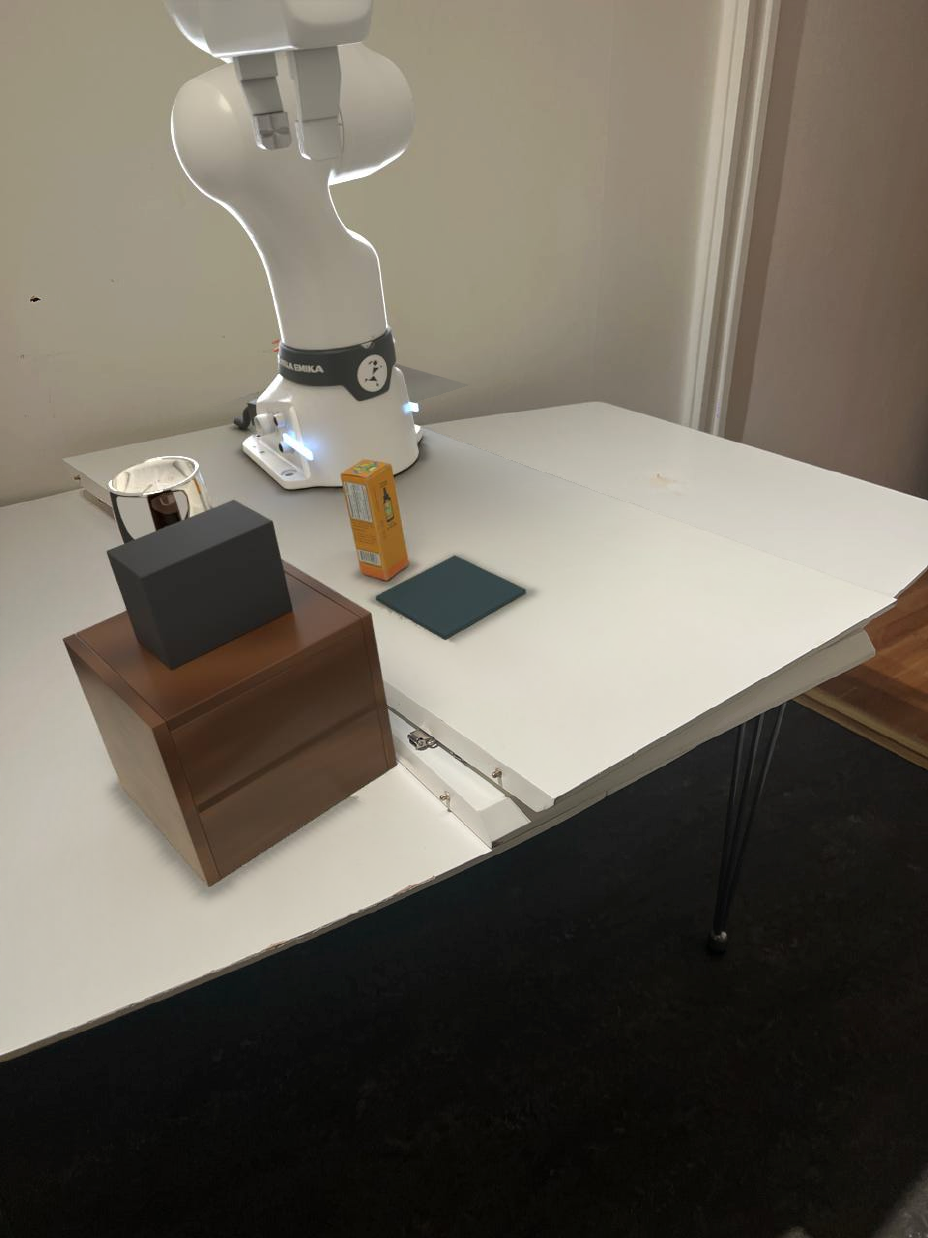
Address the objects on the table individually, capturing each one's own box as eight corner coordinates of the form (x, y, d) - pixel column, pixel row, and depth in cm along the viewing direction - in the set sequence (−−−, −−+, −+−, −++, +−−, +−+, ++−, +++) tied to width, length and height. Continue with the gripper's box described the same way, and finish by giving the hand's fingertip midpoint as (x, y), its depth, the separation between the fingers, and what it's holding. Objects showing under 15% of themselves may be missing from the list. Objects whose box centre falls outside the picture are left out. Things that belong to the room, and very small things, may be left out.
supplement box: (380, 557, 83) (364, 455, 78) (410, 565, 81) (395, 462, 76) (356, 574, 81) (338, 470, 76) (386, 583, 79) (370, 478, 74)
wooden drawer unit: (121, 786, 60) (61, 638, 54) (298, 689, 68) (264, 548, 61) (208, 887, 52) (151, 728, 46) (397, 764, 60) (372, 612, 53)
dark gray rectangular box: (136, 640, 53) (105, 550, 49) (255, 585, 57) (233, 498, 54) (171, 671, 50) (140, 577, 47) (293, 610, 54) (273, 520, 51)
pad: (376, 599, 77) (375, 595, 77) (455, 558, 82) (454, 554, 82) (445, 639, 71) (444, 635, 71) (526, 593, 76) (525, 589, 76)
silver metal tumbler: (166, 680, 70) (107, 504, 62) (154, 635, 75) (99, 469, 67) (254, 653, 72) (209, 479, 64) (236, 612, 77) (193, 447, 69)
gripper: (138, -139, 48) (203, 150, 56) (211, -249, 32) (288, 177, 40) (253, -144, 50) (301, 136, 58) (377, -251, 34) (421, 156, 42)
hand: (297, 153), depth 49 cm, fingers open, 8 cm apart
